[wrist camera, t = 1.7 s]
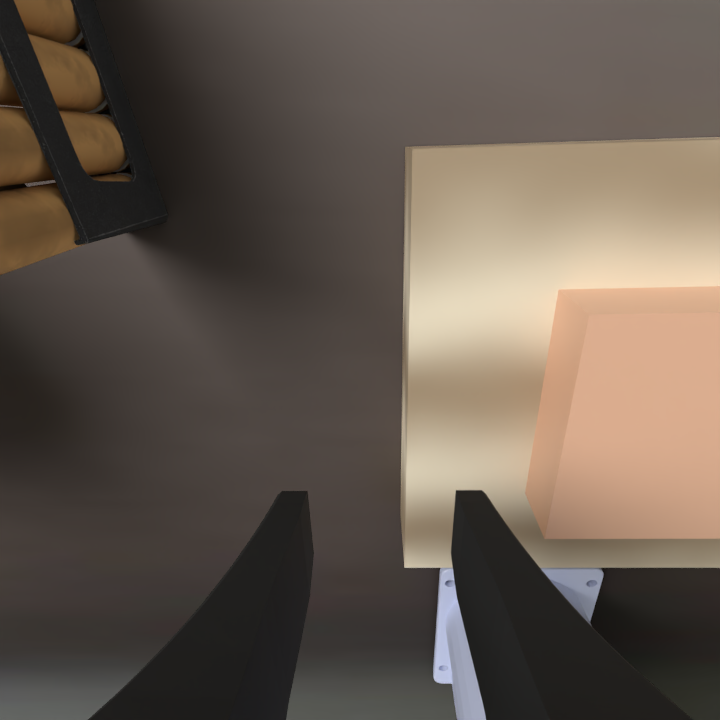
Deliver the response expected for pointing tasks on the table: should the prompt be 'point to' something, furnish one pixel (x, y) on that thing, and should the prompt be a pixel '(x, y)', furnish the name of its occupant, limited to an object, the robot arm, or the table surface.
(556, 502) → the peach flat block
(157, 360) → the table surface
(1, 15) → the ammunition clip
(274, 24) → the table surface
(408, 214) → the riser
